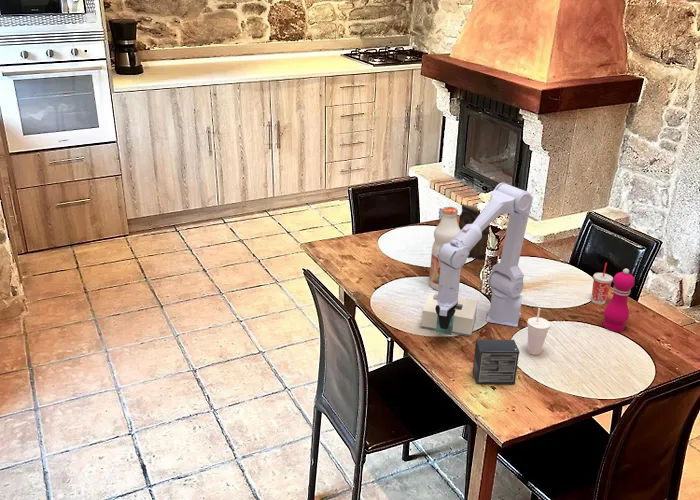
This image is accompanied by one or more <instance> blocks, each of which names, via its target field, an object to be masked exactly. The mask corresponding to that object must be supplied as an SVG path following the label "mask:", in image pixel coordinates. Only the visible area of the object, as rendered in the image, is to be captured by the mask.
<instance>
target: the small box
mask: <svg viewBox="0 0 700 500" xmlns="http://www.w3.org/2000/svg"><path fill="white" fill-rule="evenodd" d="M473 355H474V356H473V362H472V363H473V364H472V370H471V371H472V375H473V378H474V381H475V384H476V385H516V378H517V371H518V364H519V356H520V350H519V347H518V346H517V343H516V341H515V340H514V339H487V338H486V339H479V338H478V339H475V346H474V354H473Z"/></svg>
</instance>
